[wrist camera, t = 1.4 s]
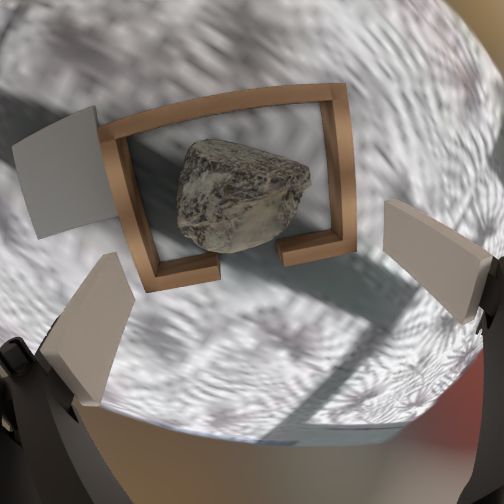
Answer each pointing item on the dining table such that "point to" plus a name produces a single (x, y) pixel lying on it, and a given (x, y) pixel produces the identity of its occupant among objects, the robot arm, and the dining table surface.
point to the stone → (236, 195)
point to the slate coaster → (64, 175)
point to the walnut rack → (116, 132)
